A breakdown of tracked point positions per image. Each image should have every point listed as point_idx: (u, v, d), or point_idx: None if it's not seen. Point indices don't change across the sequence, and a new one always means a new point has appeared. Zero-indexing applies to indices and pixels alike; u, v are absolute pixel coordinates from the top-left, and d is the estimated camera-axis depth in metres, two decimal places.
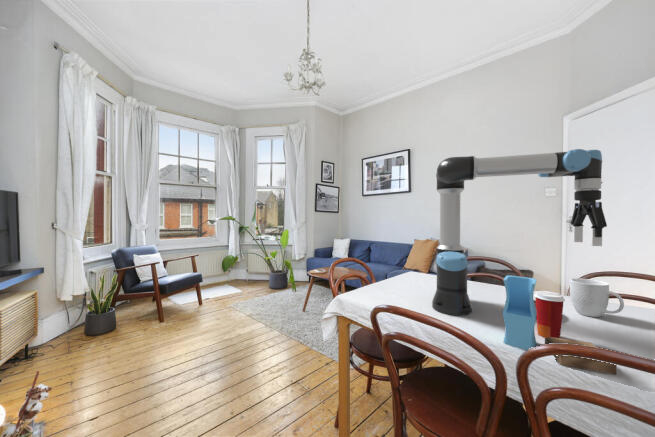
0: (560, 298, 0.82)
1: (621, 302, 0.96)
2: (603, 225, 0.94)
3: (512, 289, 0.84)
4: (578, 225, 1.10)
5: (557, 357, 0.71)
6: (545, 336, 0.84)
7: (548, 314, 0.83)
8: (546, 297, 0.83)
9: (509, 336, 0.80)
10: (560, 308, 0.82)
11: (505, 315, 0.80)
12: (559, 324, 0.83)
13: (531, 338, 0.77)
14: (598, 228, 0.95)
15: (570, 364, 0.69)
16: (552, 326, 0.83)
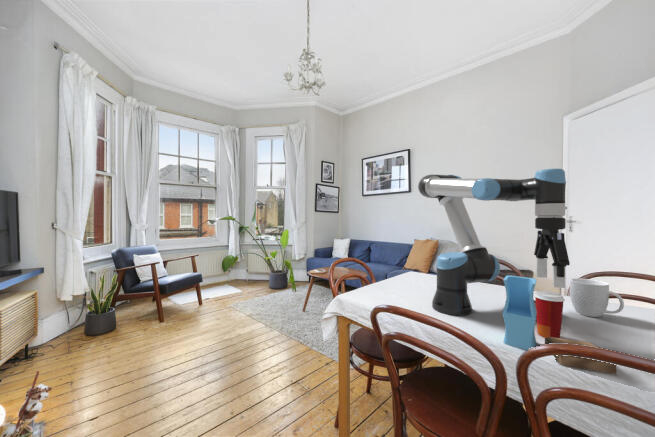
0: (560, 298, 0.82)
1: (621, 302, 0.96)
2: (565, 263, 0.76)
3: (512, 289, 0.84)
4: (542, 257, 0.92)
5: (557, 357, 0.71)
6: (545, 336, 0.84)
7: (548, 314, 0.83)
8: (546, 297, 0.83)
9: (509, 336, 0.80)
10: (560, 308, 0.82)
11: (505, 315, 0.80)
12: (559, 324, 0.83)
13: (531, 338, 0.77)
14: (560, 266, 0.77)
15: (570, 364, 0.69)
16: (552, 326, 0.83)
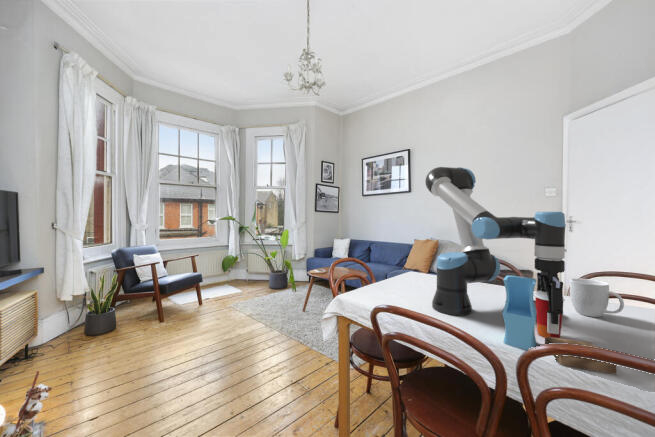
0: None
1: (621, 302, 0.96)
2: (559, 312, 0.79)
3: (512, 289, 0.84)
4: None
5: (557, 357, 0.71)
6: (545, 336, 0.84)
7: None
8: (546, 297, 0.83)
9: (509, 336, 0.80)
10: None
11: (505, 315, 0.80)
12: (559, 324, 0.83)
13: (531, 338, 0.77)
14: (554, 314, 0.81)
15: (570, 364, 0.69)
16: None
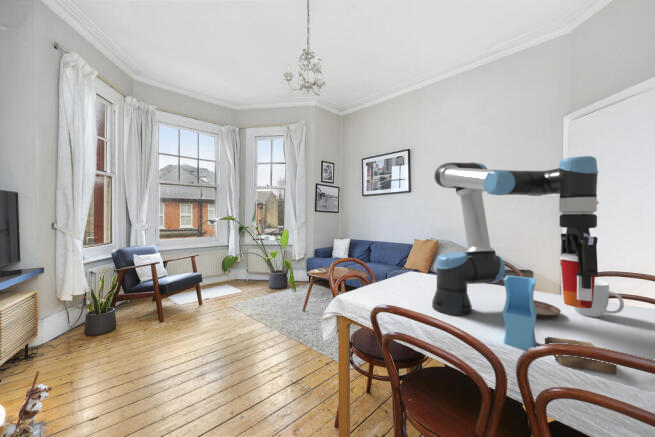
0: None
1: (621, 302, 0.96)
2: (593, 273, 0.66)
3: (512, 289, 0.84)
4: None
5: (557, 357, 0.71)
6: (574, 304, 0.71)
7: None
8: (575, 258, 0.70)
9: (509, 336, 0.80)
10: None
11: (505, 315, 0.80)
12: None
13: (531, 338, 0.77)
14: (586, 276, 0.68)
15: (570, 364, 0.69)
16: None
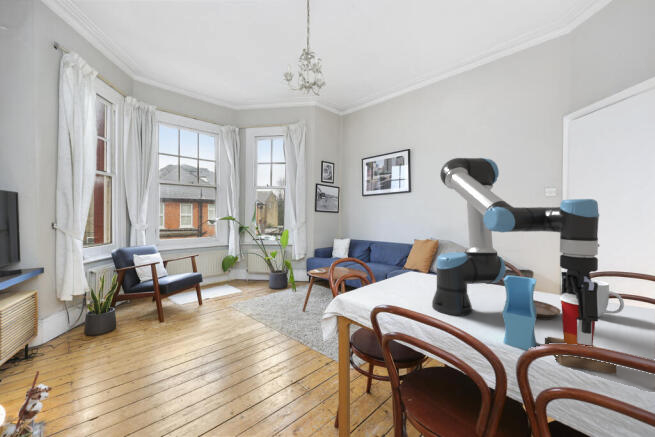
0: None
1: (621, 302, 0.96)
2: (593, 319, 0.66)
3: (512, 289, 0.84)
4: None
5: (557, 357, 0.71)
6: None
7: None
8: (576, 301, 0.70)
9: (509, 336, 0.80)
10: None
11: (505, 315, 0.80)
12: None
13: (531, 338, 0.77)
14: (586, 321, 0.67)
15: (570, 364, 0.69)
16: None
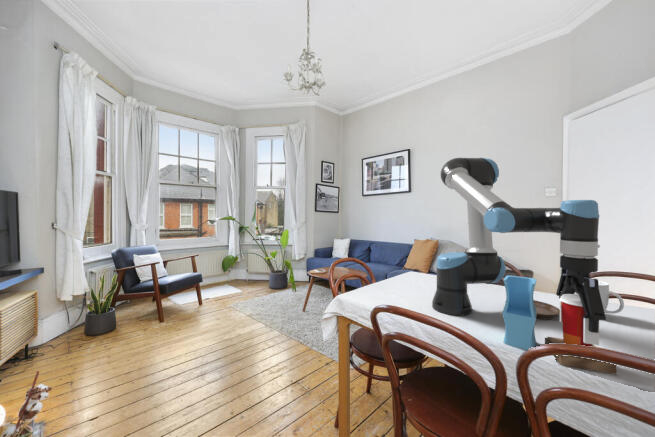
0: None
1: (621, 302, 0.96)
2: (600, 318, 0.63)
3: (512, 289, 0.84)
4: None
5: (557, 357, 0.71)
6: None
7: (578, 322, 0.70)
8: (575, 302, 0.70)
9: (509, 336, 0.80)
10: None
11: (505, 315, 0.80)
12: None
13: (531, 338, 0.77)
14: (593, 320, 0.64)
15: (570, 364, 0.69)
16: None
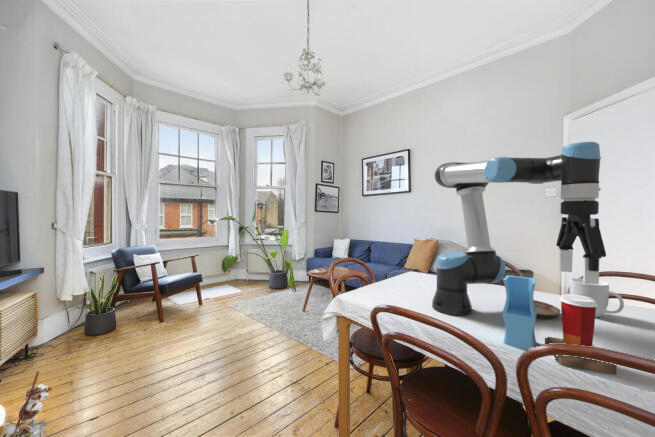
0: (592, 303, 0.69)
1: (621, 302, 0.96)
2: (601, 254, 0.63)
3: (512, 289, 0.84)
4: (566, 248, 0.79)
5: (557, 357, 0.71)
6: None
7: (578, 322, 0.70)
8: (575, 302, 0.70)
9: (509, 336, 0.80)
10: (592, 315, 0.69)
11: (505, 315, 0.80)
12: (591, 334, 0.69)
13: (531, 338, 0.77)
14: (593, 258, 0.64)
15: (570, 364, 0.69)
16: (583, 336, 0.70)
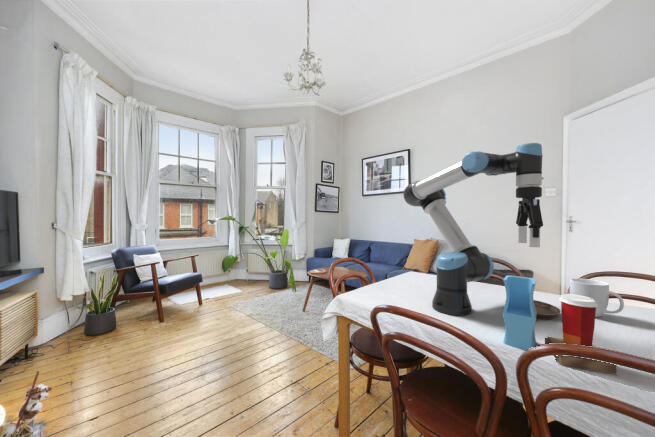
0: (592, 303, 0.69)
1: (621, 302, 0.96)
2: (539, 224, 0.86)
3: (512, 289, 0.84)
4: (522, 225, 1.02)
5: (557, 357, 0.71)
6: None
7: (578, 322, 0.70)
8: (575, 302, 0.70)
9: (509, 336, 0.80)
10: (592, 315, 0.69)
11: (505, 315, 0.80)
12: (591, 334, 0.69)
13: (531, 338, 0.77)
14: (535, 228, 0.88)
15: (570, 364, 0.69)
16: (583, 336, 0.70)
